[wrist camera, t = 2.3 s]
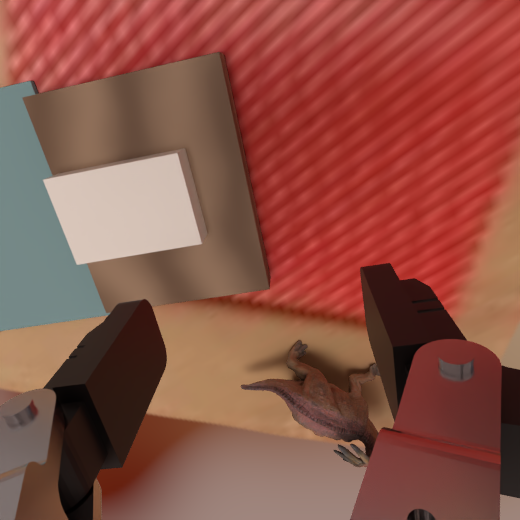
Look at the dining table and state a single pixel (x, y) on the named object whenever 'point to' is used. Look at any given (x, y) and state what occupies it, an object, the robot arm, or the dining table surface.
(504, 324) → the dining table surface
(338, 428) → the dinosaur figurine
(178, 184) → the tile
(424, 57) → the dining table surface
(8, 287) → the mat
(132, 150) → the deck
